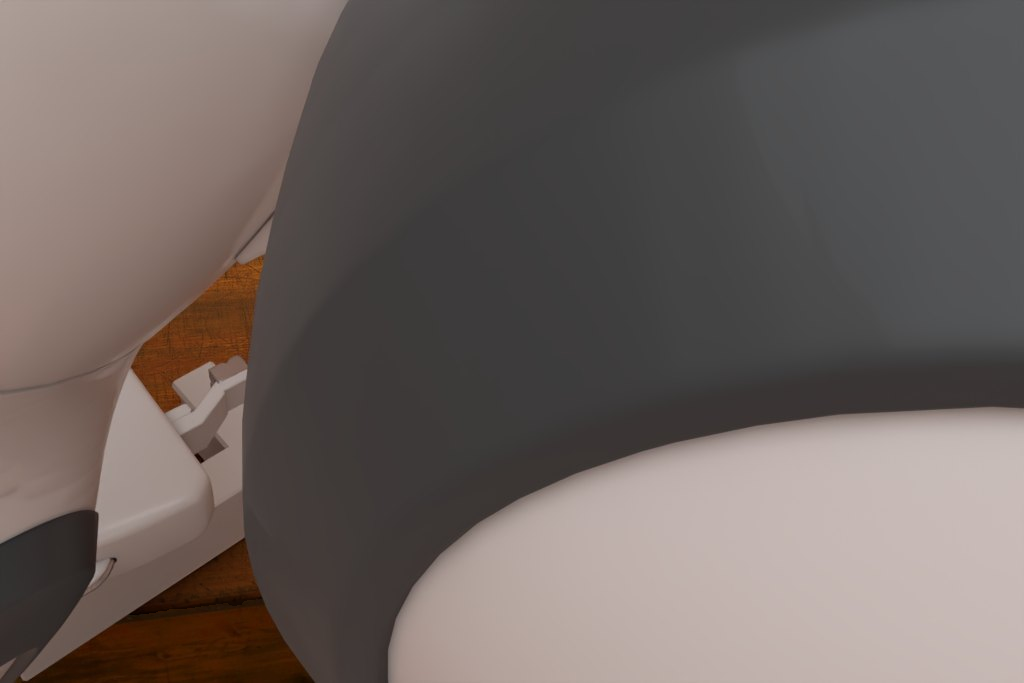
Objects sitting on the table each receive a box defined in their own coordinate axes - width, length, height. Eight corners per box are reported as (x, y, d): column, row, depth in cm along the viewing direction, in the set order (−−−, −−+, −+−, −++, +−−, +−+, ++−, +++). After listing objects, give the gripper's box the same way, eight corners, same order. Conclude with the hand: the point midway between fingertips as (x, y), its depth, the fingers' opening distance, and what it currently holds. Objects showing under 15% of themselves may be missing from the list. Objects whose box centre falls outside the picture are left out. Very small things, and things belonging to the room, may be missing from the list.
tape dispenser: (25, 683, 59) (0, 640, 55) (-52, 568, 63) (-81, 518, 58) (298, 503, 69) (296, 454, 65) (218, 412, 73) (211, 359, 68)
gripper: (-5, 602, 37) (319, 421, 44) (-209, 246, 45) (91, 138, 52) (32, 664, 42) (318, 493, 49) (-158, 333, 50) (110, 224, 57)
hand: (199, 308), depth 51 cm, fingers open, 8 cm apart
